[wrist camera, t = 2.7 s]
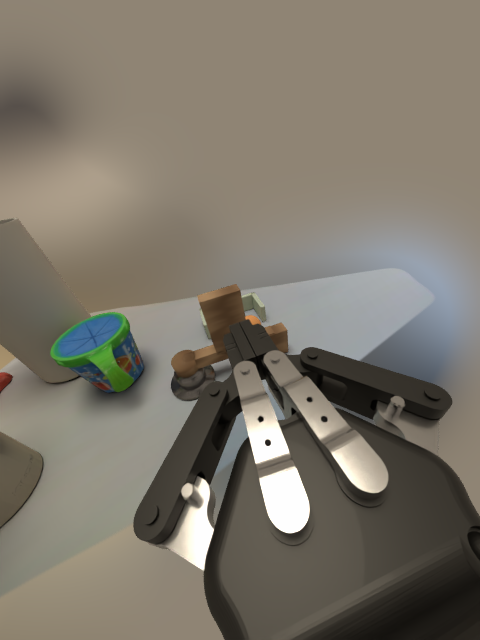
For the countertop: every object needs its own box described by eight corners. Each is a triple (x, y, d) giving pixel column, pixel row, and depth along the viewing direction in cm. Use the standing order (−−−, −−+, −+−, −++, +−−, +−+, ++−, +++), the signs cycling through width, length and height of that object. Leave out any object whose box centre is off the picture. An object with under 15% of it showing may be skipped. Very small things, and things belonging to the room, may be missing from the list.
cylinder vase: (28, 380, 41) (-131, 254, 26) (81, 335, 50) (-14, 222, 35) (75, 389, 37) (-80, 248, 22) (123, 339, 46) (37, 214, 31)
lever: (183, 392, 33) (143, 323, 24) (181, 375, 36) (145, 307, 27) (290, 354, 35) (287, 279, 27) (280, 340, 38) (275, 268, 30)
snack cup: (88, 365, 42) (51, 325, 35) (141, 338, 46) (116, 298, 39) (96, 429, 31) (45, 388, 24) (166, 386, 35) (137, 341, 28)
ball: (245, 344, 39) (241, 327, 37) (238, 331, 42) (235, 315, 40) (265, 337, 40) (263, 320, 37) (257, 324, 43) (255, 308, 40)
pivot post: (173, 407, 31) (166, 396, 30) (171, 371, 37) (165, 360, 35) (219, 390, 32) (215, 379, 31) (210, 358, 38) (206, 347, 36)
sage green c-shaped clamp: (208, 339, 42) (203, 325, 40) (203, 322, 46) (199, 309, 44) (266, 320, 43) (264, 306, 41) (256, 305, 48) (254, 292, 46)
